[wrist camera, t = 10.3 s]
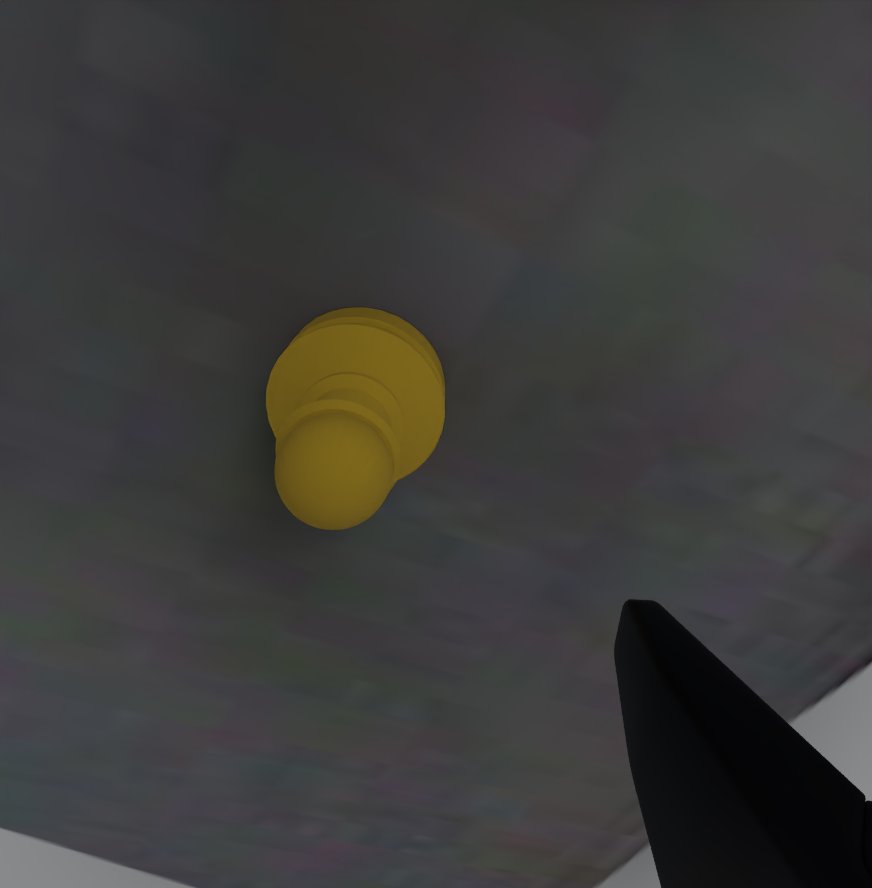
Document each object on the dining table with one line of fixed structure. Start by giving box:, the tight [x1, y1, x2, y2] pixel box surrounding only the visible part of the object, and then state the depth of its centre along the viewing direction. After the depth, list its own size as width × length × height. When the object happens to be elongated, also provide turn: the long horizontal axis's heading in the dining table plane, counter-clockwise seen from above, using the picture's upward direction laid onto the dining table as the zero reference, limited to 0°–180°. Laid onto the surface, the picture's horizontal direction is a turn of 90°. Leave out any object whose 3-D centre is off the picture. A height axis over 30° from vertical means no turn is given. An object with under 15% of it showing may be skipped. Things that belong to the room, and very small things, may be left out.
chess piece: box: [266, 307, 445, 530], centre depth 13 cm, size 4×4×5 cm
